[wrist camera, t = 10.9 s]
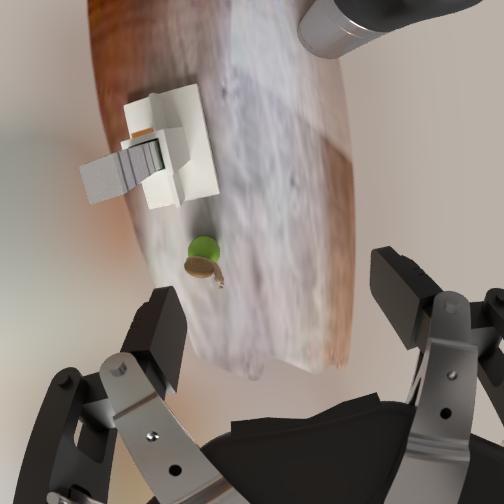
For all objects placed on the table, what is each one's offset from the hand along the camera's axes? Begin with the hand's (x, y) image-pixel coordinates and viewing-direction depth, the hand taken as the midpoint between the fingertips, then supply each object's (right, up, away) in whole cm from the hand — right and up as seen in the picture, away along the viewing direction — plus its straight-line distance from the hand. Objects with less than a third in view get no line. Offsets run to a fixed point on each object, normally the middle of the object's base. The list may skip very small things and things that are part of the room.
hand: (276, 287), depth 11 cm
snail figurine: (-9, +3, +39) cm, 40 cm away
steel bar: (-13, +14, +23) cm, 30 cm away
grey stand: (-14, +18, +30) cm, 38 cm away
